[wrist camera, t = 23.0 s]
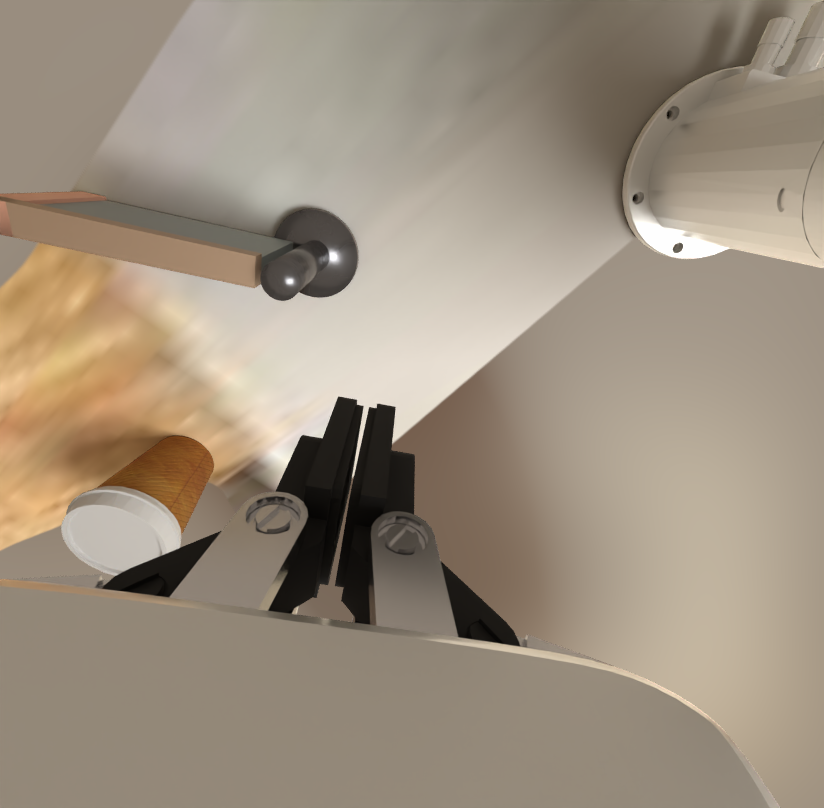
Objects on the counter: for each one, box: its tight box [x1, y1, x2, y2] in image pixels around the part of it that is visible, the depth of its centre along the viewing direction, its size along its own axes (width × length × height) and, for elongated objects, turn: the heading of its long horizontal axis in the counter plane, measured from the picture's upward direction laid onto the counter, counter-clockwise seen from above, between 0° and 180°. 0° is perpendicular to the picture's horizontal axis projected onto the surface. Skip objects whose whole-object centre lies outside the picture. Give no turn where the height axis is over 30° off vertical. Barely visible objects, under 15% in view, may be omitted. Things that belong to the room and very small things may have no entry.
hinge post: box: [260, 209, 358, 301], centre depth 31 cm, size 7×7×11 cm
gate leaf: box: [0, 191, 293, 288], centre depth 30 cm, size 16×2×9 cm, turn 78°
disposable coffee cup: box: [61, 436, 214, 576], centre depth 41 cm, size 10×10×12 cm
